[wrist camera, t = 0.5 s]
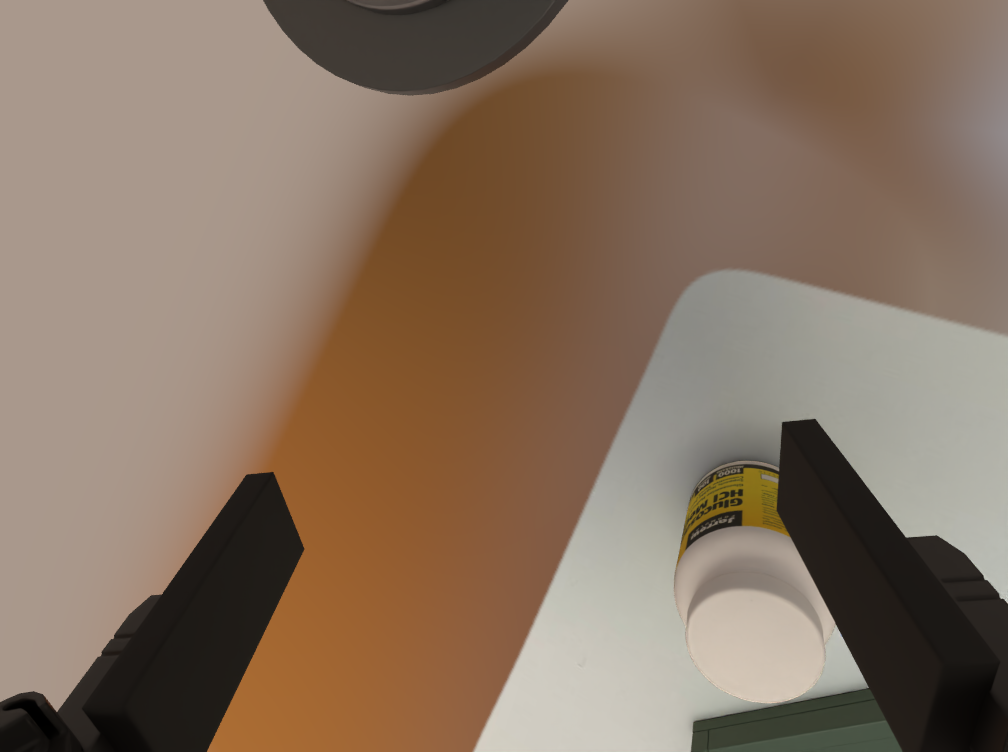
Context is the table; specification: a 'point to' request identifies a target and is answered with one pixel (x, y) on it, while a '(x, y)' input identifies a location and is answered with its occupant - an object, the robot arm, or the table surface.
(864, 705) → the tray
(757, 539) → the pill bottle
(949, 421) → the table surface
